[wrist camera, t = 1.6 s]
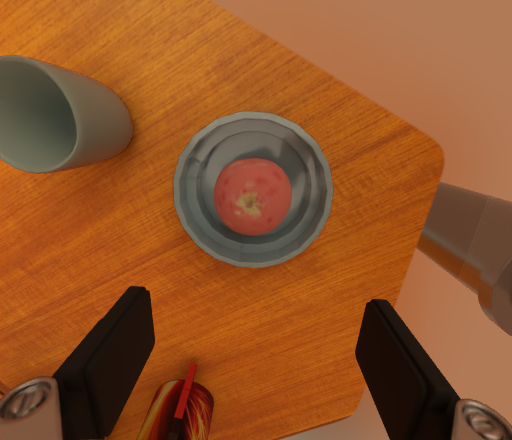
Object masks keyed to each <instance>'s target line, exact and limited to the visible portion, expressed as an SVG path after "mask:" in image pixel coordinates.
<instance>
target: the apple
mask: <svg viewBox="0 0 512 440" xmlns="http://www.w3.org/2000/svg"><path fill="white" fill-rule="evenodd" d="M291 198H292V191H291V185H290V182H289V179H288V177H287V175H286V174H285V172H284V170H283V169H282V168H281V167H279V166H278V165H277V164H276V163H274V162H271V161H269V160H267V159H260V158H248V159H241V160H236V161H234V162H232V163H230V164H228V165H227V166H226V167H225V168H224V169H223V170H222V171H221V172H220V174H219V176H218V178H217V180H216V183H215V187H214V203H215V207H216V210H217V213H218V215H219V217H220V219H221V220H222V221H223V222H224V223H225V225H226V226H228V227H229V228H231V229H232V230H234V231H236V232H238V233H240V234H245V235H259V234H264V233H267V232H269V231H271V230H273V229H275V228H276V227H277V226H278V225H279V224H280V223H281V222H282V221H283V219H284V218H285V216H286V215H287V213H288V210H289V208H290V205H291Z"/></svg>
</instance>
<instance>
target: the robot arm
mask: <svg viewBox="0 0 512 440" xmlns="http://www.w3.org/2000/svg"><path fill="white" fill-rule="evenodd" d="M154 344H155V335H154V326H153V317H152V308H151V299H150V292H149V291H148V290H146V288H145V287H139V286H130V287H129V288H128V289H127V290H126V291H125V293H124V294H123V295H122V296H121V297H120V299H119V300H118V301H117V302H116V303H115V304H114V306H113V307H112V308H111V309H110V310H109V312H108V313H107V314H106V315H105V316H104V318H102V319H101V320H100V321H99V322H98V323H97V324H96V325H95V326H94V327H93V329H92V330H91V331H90V332H89V333H88V334H87V336H86V337H85V338H84V339H83V340H82V342H81V343H80V344H79V345H78V346H77V347H76V349H75V350H74V351H73V352H72V353H71V354H70V356H69V357H68V358H67V359H66V360H65V362H64V363H63V364H62V365H61V366H60V367H59V369H58V370H57V371H56V372H55V373H54V374H53V376H52V377H50V376H40V377H35V378H32V379H29V380H26V381H24V382H22V383H21V384H19V385H17V386H15V387H14V388H13V389H11V390H10V391H8V392H7V393H6V394H5V395H4V396H3V397H2V398H1V399H0V440H103V439H104V437H108V436H109V435H110V434H111V432H112V430H113V428H114V426H115V424H116V422H117V420H118V418H119V416H120V414H121V412H122V410H123V408H124V406H125V404H126V402H127V400H128V398H129V396H130V394H131V392H132V390H133V388H134V386H135V384H136V382H137V380H138V378H139V376H140V374H141V372H142V370H143V368H144V366H145V364H146V362H147V360H148V358H149V356H150V354H151V352H152V350H153V347H154ZM355 355H356V359H357V362H358V364H359V367H360V369H361V371H362V374H363V376H364V379H365V381H366V383H367V386H368V388H369V391H370V393H371V395H372V398H373V400H374V402H375V405H376V407H377V410H378V412H379V415H380V417H381V419H382V422H383V424H384V427H385V428H386V431H387V433H388V436H389V439H390V440H512V426H511V424H510V423H509V422H508V421H507V420H506V419H505V418H504V417H503V416H501V415H500V414H499V413H498V412H497V411H495V410H494V409H492V408H490V407H489V406H487V405H486V404H483V403H481V402H479V401H476V400H472V399H460V397H459V396H458V395H457V393H456V392H455V390H454V389H453V388H452V386H451V385H450V384H449V382H448V381H447V380H446V379H445V377H444V376H443V374H442V373H441V372H440V370H439V369H438V368H437V366H436V365H435V364H434V362H433V361H432V359H431V358H430V357H429V355H428V354H427V353H426V351H425V350H424V349H423V347H422V346H421V345H420V343H419V342H418V341H417V339H416V338H415V337H414V335H413V334H412V333H411V331H410V330H409V329H408V327H407V326H406V325H405V323H404V322H403V320H402V319H401V318H400V317H399V315H398V314H397V312H396V311H395V310H394V308H393V307H392V306H391V304H390V303H389V302H388V301H387V300H382V299H372V300H371V301H370V302H368V303H367V304H366V308H365V312H364V316H363V320H362V324H361V329H360V333H359V337H358V341H357V345H356V350H355Z"/></svg>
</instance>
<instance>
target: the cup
mask: <svg viewBox="0 0 512 440" xmlns="http://www.w3.org/2000/svg"><path fill="white" fill-rule="evenodd" d="M132 135H133V124H132V119H131V116H130V114H129V111H128V109H127V107H126V105H125V104H124V103H123V101H122V100H121V98H120V97H119V96H118V95H117V94H116V93H115V92H114V91H113V90H111V89H110V88H108V87H107V86H105V85H104V84H103V83H101V82H99V81H97V80H95V79H93V78H90V77H88V76H85V75H83V74H80V73H78V72H75V71H72V70H69V69H66V68H63V67H60V66H57V65H54V64H51V63H48V62H44V61H41V60H38V59H34V58H30V57H24V56H17V55H8V56H0V158H1V159H2V160H3V161H4V162H6V163H7V164H9V165H11V166H12V167H14V168H16V169H19V170H22V171H25V172H30V173H37V174H41V173H54V172H60V171H66V170H71V169H76V168H80V167H85V166H89V165H93V164H97V163H100V162H103V161H106V160H108V159H110V158H113V157H115V156H117V155H118V154H120V153H121V152H122V151H124V150H125V148H126V147H127V146H128V145H129V143H130V141H131V139H132Z"/></svg>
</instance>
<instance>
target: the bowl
mask: <svg viewBox="0 0 512 440" xmlns="http://www.w3.org/2000/svg"><path fill="white" fill-rule="evenodd" d="M248 158H260V159H267V160H269V161H271V162H274V163H276V164H277V165H278V166H279V167H281V168H282V169H283V170H284V172H285V174H286V175H287V177H288V179H289V182H290V185H291V191H292V198H291V205H290V208H289V210H288V213H287V215H286V216H285V218H284V219H283V221H282V222H281V223H280V224H279V225H278V226H277V227H276V228H275V229H273V230H271V231H269V232H267V233H264V234H259V235H245V234H240V233H238V232H236V231H234V230H232V229H231V228H229V227H228V226H226V225H225V223H224V222H223V221H222V220H221V219H220V217H219V215H218V213H217V210H216V207H215V203H214V187H215V183H216V180H217V178H218V176H219V174H220V172H221V171H222V170H223V169H224V168H225V167H226V166H227V165H228V164H230V163H232V162H234V161H236V160H241V159H248ZM173 192H174V206H175V208H176V211H177V214H178V216H179V219H180V221H181V224H182V227H183V228H184V229H185V231H186V232H187V233H188V235H189V236H190V237H191V238H192V240H193V241H194V242H195V243H196V245H197V246H198V247H200V248H201V249H202V250H204V251H205V252H207V253H208V254H209V255H211V256H212V257H214V258H215V259H217V260H220V261H223V262H226V263H229V264H231V265H234V266H238V267H251V268H262V267H267V266H272V265H276V264H281V263H283V262H285V261H287V260H289V259H291V258H293V257H295V256H296V255H298V254H300V253H302V252H303V251H304V250H305V249H306V248H307V247H308V246H309V245H310V244H311V243H312V242H313V241H314V240H315V239H316V238H317V237H318V235H319V234H320V232H321V230H322V228H323V226H324V224H325V223H326V221H327V219H328V217H329V214H330V210H331V203H332V197H333V184H332V178H331V172H330V166H329V164H328V162H327V160H326V158H325V156H324V154H323V152H322V151H321V149H320V147H319V145H318V143H317V142H316V141H315V140H314V139H313V138H312V137H311V136H310V135H309V134H308V133H306V132H305V131H304V130H303V129H302V128H301V127H300V126H299V125H298V124H296V123H294V122H292V121H289V120H287V119H285V118H282V117H280V116H277V115H275V114H273V113H267V112H250V111H241V112H238V113H235V114H231V115H228V116H224V117H221V118H217V119H215V120H214V121H213V122H211V123H210V124H208V125H207V126H206V127H204V128H203V129H202V130H200V131H199V132H197V133H196V134H195V135H194V136H193V137H192V139H191V140H190V142H189V143H188V145H187V146H186V148H185V149H184V150H183V152H182V153H181V155H180V157H179V160H178V164H177V167H176V171H175V174H174V178H173Z"/></svg>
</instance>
